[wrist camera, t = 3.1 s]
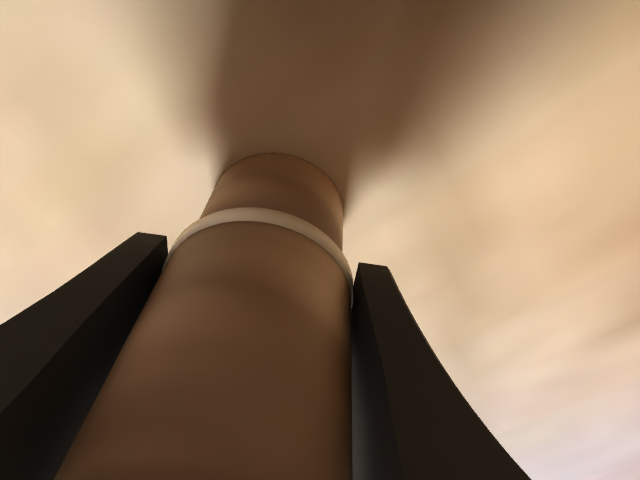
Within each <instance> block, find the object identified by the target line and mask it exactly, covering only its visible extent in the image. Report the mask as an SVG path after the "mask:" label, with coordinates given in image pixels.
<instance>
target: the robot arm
mask: <svg viewBox="0 0 640 480" xmlns="http://www.w3.org/2000/svg"><path fill="white" fill-rule="evenodd" d="M167 256H168V248H167V236H163V235H156V234H148V233H141V232H137V233H136V234H134V235H133V236H131V237H130V238H129V239H127V240H126V241H124V242H123V243H122V244H120V245H119V246H117V247H116V248H115V249H113V250H112V251H110V252H109V253H108V254H106V255H105V256H104V257H102V258H101V259H99V260H98V261H97V262H95V263H94V264H92V265H91V266H90V267H88V268H87V269H85V270H84V271H83V272H81V273H80V274H78V275H77V276H75V277H74V278H72V279H71V280H70V281H68V282H67V283H65V284H64V285H62V286H61V287H59V288H58V289H56V290H55V291H54V292H52V293H50V294H49V295H47V296H46V297H44V298H42V299H41V300H39V301H38V302H36V303H35V304H33V305H31V306H30V307H28V308H27V309H25V310H23V311H22V312H20V313H19V314H17V315H16V316H14V317H12V318H11V319H9V320H8V321H6V322H4V323H3V324H1V325H0V480H53V479H54V478H55V476H56V474H57V472H58V470H59V468H60V466H61V464H62V462H63V460H64V458H65V457H66V455H67V453H68V451H69V449H70V447H71V445H72V443H73V441H74V439H75V437H76V435H77V434H78V432H79V430H80V428H81V426H82V424H83V422H84V420H85V418H86V416H87V414H88V412H89V411H90V409H91V407H92V405H93V403H94V401H95V399H96V397H97V395H98V393H99V391H100V389H101V388H102V386H103V384H104V382H105V380H106V378H107V376H108V374H109V372H110V370H111V368H112V366H113V365H114V363H115V361H116V359H117V357H118V355H119V353H120V351H121V349H122V347H123V345H124V344H125V342H126V340H127V338H128V336H129V334H130V332H131V330H132V328H133V326H134V324H135V322H136V321H137V319H138V317H139V315H140V313H141V311H142V309H143V307H144V305H145V303H146V301H147V299H148V298H149V296H150V294H151V292H152V290H153V288H154V286H155V284H156V282H157V280H158V278H159V276H160V275H161V273H162V268H163V265H164V263H165V260H166V258H167ZM351 358H352V465H353V480H531V479H530V478H529V477H528V475H527V474H526V473H525V472H524V471H523V470H522V469H521V468H520V467H519V465H518V464H517V463H516V462H515V461H514V460H513V459H512V458H511V457H510V455H509V454H508V453H507V452H506V450H505V449H504V448H503V447H502V446H501V444H500V443H499V442H498V441H497V440H496V438H495V437H494V436H493V435H492V433H491V432H490V431H489V430H488V428H487V427H486V426H485V425H484V423H483V422H482V421H481V419H480V418H479V417H478V415H477V414H476V413H475V412H474V410H473V409H472V408H471V406H470V405H469V403H468V402H467V401H466V399H465V398H464V397H463V395H462V394H461V392H460V391H459V389H458V388H457V387H456V385H455V384H454V382H453V381H452V379H451V378H450V376H449V375H448V373H447V372H446V370H445V369H444V367H443V366H442V364H441V363H440V361H439V359H438V358H437V356H436V355H435V353H434V352H433V350H432V348H431V347H430V345H429V343H428V341H427V340H426V338H425V336H424V335H423V333H422V331H421V330H420V328H419V326H418V325H417V323H416V321H415V319H414V317H413V315H412V314H411V312H410V310H409V308H408V306H407V304H406V302H405V300H404V298H403V297H402V295H401V293H400V291H399V289H398V286H397V284H396V282H395V280H394V278H393V276H392V274H391V272H390V270H389V269H388V267H387V266H381V265H374V264H367V263H359V264H358V268H357V272H356V277H355V281H354V285H353V304H352V308H351Z"/></svg>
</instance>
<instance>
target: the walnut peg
mask: <svg viewBox="0 0 640 480" xmlns="http://www.w3.org/2000/svg"><path fill="white" fill-rule="evenodd" d="M342 239H343V208H342V202H341V199H340V196H339V193H338V191H337V189H336V187H335V186H334V184H333V183H332V182H331V180H330V179H329V178H328V177H327V176H326V175H325V174H324V173H323V172H322V171H321V170H320V169H318V168H317V167H316V166H314V165H312V164H311V163H309V162H307V161H305V160H303V159H301V158H298V157H295V156H291V155H287V154H280V153H263V154H257V155H253V156H250V157H247V158H244V159H242V160H240V161H238V162H237V163H235V164H234V165H232V166H231V167H230V168H229V169H227V170H226V171H225V173H224V174H223V175H222V176H221V177H220V179H219V181H218V182H217V184H216V186H215V188H214V190H213V192H212V195H211V197H210V199H209V201H208V203H207V205H206V207H205V209H204V211H203V213H202V215H201V217H200V219H199V220H197V221H196V222H194V223H192V224H191V225H190V226H189V227H188V228H186V229H185V230H184V231H183V232H182V233H181V235H180V236H179V237H178V238H177V240H176V241H175V243H174V245H173V246H172V248H171V250H170V252H169V254H168V256H167V258H166V260H165V263H164V265H163V268H162V273H161V275H160V276H159V278H158V280H157V282H156V284H155V286H154V288H153V290H152V292H151V294H150V296H149V298H148V299H147V301H146V303H145V305H144V307H143V309H142V311H141V313H140V315H139V317H138V319H137V321H136V322H135V324H134V326H133V328H132V330H131V332H130V334H129V336H128V338H127V340H126V342H125V344H124V345H123V347H122V349H121V351H120V353H119V355H118V357H117V359H116V361H115V363H114V365H113V366H112V368H111V370H110V372H109V374H108V376H107V378H106V380H105V382H104V384H103V386H102V388H101V389H100V391H99V393H98V395H97V397H96V399H95V401H94V403H93V405H92V407H91V409H90V411H89V412H88V414H87V416H86V418H85V420H84V422H83V424H82V426H81V428H80V430H79V432H78V434H77V435H76V437H75V439H74V441H73V443H72V445H71V447H70V449H69V451H68V453H67V455H66V457H65V458H64V460H63V462H62V464H61V466H60V468H59V470H58V472H57V474H56V476H55V478H54V479H53V480H353V465H352V358H351V308H352V304H353V278H352V273H351V270H350V267H349V264H348V262H347V260H346V258H345V256H344V255H343V253H342Z"/></svg>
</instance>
